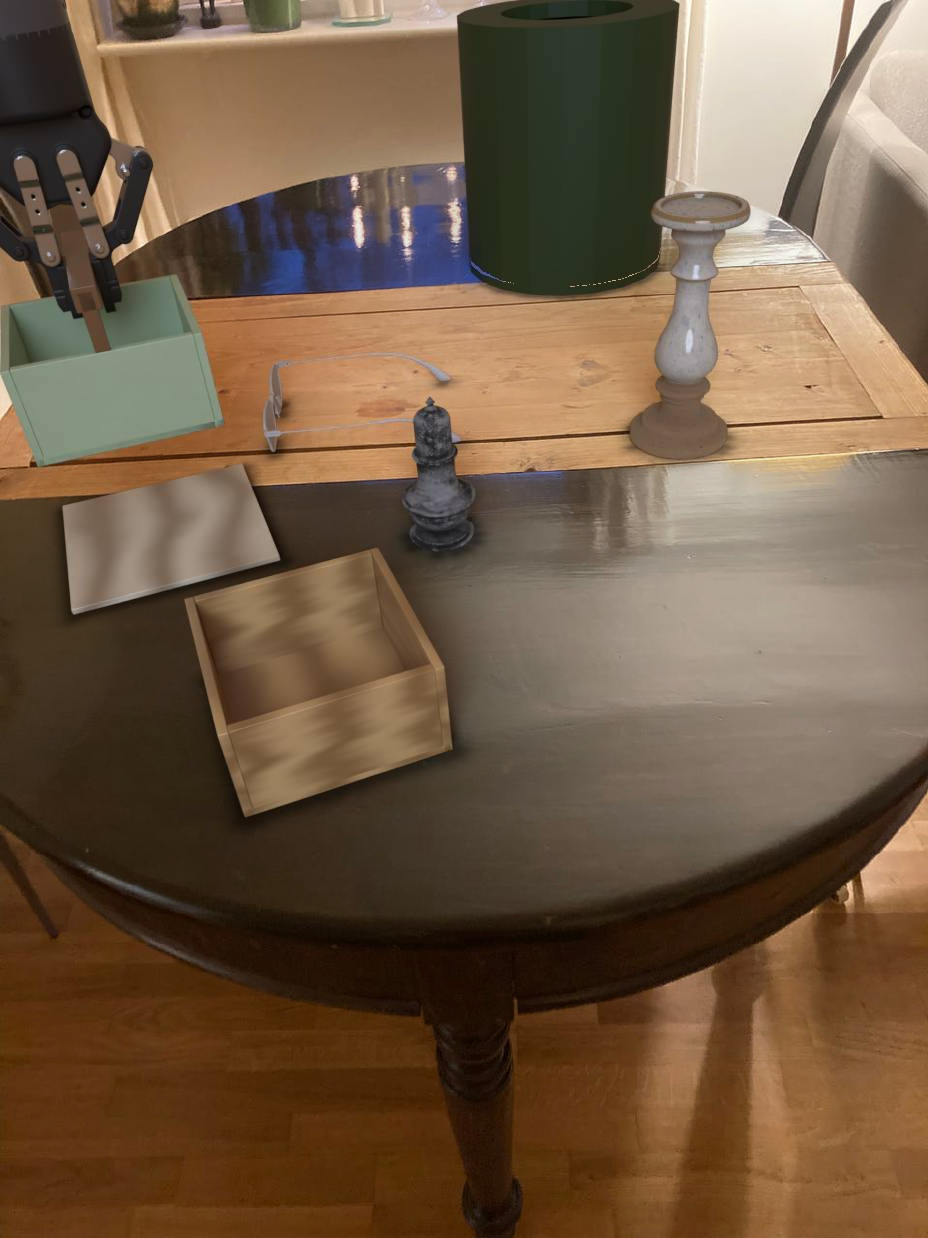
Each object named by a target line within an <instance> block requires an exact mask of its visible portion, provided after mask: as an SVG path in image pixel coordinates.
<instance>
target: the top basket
mask: <svg viewBox="0 0 928 1238" xmlns="http://www.w3.org/2000/svg"><path fill="white" fill-rule="evenodd" d="M60 235H61V243H62V250H63V256H65V263H66V270H67V276H68V283H69V290H70V293H71V296H72V299H73V302H74V305H75V308H76V311H77V313H78V314H80V313H82V314H83V317H84V318H78V319H73V316H72V314H71V311H68V312H63V311H62V310H61V309H60V308H59V306H58V304H57V301H56V298H55V295H51V296H46V297H42V298H41V297H40V298H36V299H30V300H24V301H19V302H14V303H9V304H3V305H1V306H0V313H1V314H0V377H1V381H2V382H3V384H4V387H5V389H6V392H7V394H8V397H9V400H10V401H11V404H12V407H13V409H14V412H15V414H16V417H17V419H18V421H19V425H20V427H21V428H22V431H23V434H24V436H25V439H26V441H27V444H28V446H29V448H30V450H31V453H32V457H33V459H34V461H35V463H36V466H37V467H38V468H42V467H46V466H51V465H56V464H59V463H64V462H68V461H73V460H77V459H82V458H86V457H91V456H96V455H100V454H104V453H108V452H113V451H118V450H122V449H127V448H130V447H136V446H140V445H141V446H142V445H144V444H150V443H154V442H158V441H162V440H168V439H172V438H177V437H180V436H184V435H190V434H195V433H198V432H203V431H208V430H211V429H216V428H220V427H225V426H226V424H225V419H224V416H223V411H222V407H221V404H220V400H219V395H218V391H217V387H216V383H215V379H214V375H213V371H212V367H211V363H210V358H209V355H208V352H207V347H206V344H205V339H204V335H203V332H202V330H201V328H200V327H201V326H200V324H199V323H198V320H197V318H196V316H195V313H194V311H193V309H192V307H191V304H190V302H189V299H188V297H187V294H186V292H185V290H184V287H183V285H182V284H181V283H182V282H181V281H180V279H179V276H178V274H175V273H174V274H171V275H165V276H164V275H163V276H157V277H152V278H147V279H141V280H136V281H130V282H123V283H119V285H120V289H121V292H122V299H121V302H117V303H114V304H115V307H116V312H111V313H106V310H105V307H104V304H103V301H102V297H101V294H100V291H99V288H98V284H97V280H96V277H95V274H94V271H93V267H92V264H91V261H90V256H89V252H90V249H89V245H88V242H87V240H86V237H85V234H84V231H83V229H77V230H71V231H65V232H61V233H60Z"/></svg>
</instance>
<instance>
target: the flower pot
mask: <svg viewBox="0 0 928 1238" xmlns="http://www.w3.org/2000/svg"><path fill="white" fill-rule="evenodd" d="M680 6H681V3H680V2H678V1H676V0H508V1H501V2H495V3H491V4H485V5H480V6H476V7H474V8H470V9H465V10H464V11H462V12H461V13H458V14H457V15H456V27H457V29H456V31H457V45H458V46H457V47H458V69H459V84H460V86H459V87H460V102H461V103H460V105H461V124H462V140H463V162H464V176H465V177H464V178H465V179H464V180H465V196H466V198H465V200H466V216H467V218H466V219H467V235H468V253H469V252H470V256H469V255H468V256H469V259H470V258H471V261H472V262H473V263H474V264H475V265H476V266H478V267H479V268H480V269H481V270H482V271H483V272H486V273H487V274H490V275H491V276H493V277H495V278H498V279H499V280H502V281H506V282H502V281H499V280H497V279H494V278H491V277H489V276H486V275H483V274H481V273H480V272H479V271H478V270H477V269H475V268H474V267H473V266H472V265H471V262H470V261H469V266H470V272H471V273H472V275H474V276H475V277H476V278H477V279H479V280H480V281H481V282H482V283H485V284H488V285H490V286H493V287H495V288H498V289H501V290H504V291H510V292H516V293H521V294H526V295H538V296H539V295H542V296H574V295H585V294H587V295H588V294H596V293H600V292H605V291H606V292H607V291H610V290H614V289H615V290H616V289H620V288H624V287H626V286H629V285H631V284H633V283H636V282H639V281H641V280H644V279H646V278H647V277H648V276H649V275H651V274H652V273H653V272H654V271H656V270H657V269H658V267H659V263H660V261H661V252H662V251H660V248H661V249H662V240H663V239H662V237H663V226H660V225H658V224H657V223H655V222H654V221H653V220H652V218H651V210H652V207H653V205H654V203H655V202H656V201H657V200H658V199H660V198H662V197H665V196H666V185H667V174H668V173H667V172H668V160H669V158H668V157H669V147H670V136H671V135H670V134H671V133H670V132H671V123H672V122H671V121H672V109H673V95H674V94H673V93H674V83H675V69H676V57H677V43H678V30H679V18H680V17H679V16H680ZM659 251H660V254H659ZM658 255H659V258H658ZM657 258H658V260H657V261H656V262H655V263H654V264H652V263H653V262H654V261H655V260H656V259H657ZM651 264H652V265H651ZM649 265H651V266H650V267H649V268H647V267H648V266H649ZM646 268H647V269H646ZM644 269H646V270H645V271H642V270H644ZM640 271H642V272H640ZM637 272H640V273H637ZM635 273H637V274H635ZM632 274H634V275H632ZM629 275H632V276H629ZM628 276H629V277H628ZM625 277H627V278H625ZM622 278H624V279H622ZM618 279H621V280H618ZM612 280H616V281H612ZM608 281H611V282H608ZM508 282H509V283H508ZM510 282H511V283H510ZM604 282H606V283H604ZM513 283H514V284H513ZM598 283H601V284H598ZM589 284H590V285H589ZM593 284H596V285H593ZM577 285H579V286H577ZM582 285H587V286H582ZM570 286H575V287H570Z"/></svg>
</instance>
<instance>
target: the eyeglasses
mask: <svg viewBox="0 0 928 1238" xmlns="http://www.w3.org/2000/svg"><path fill="white" fill-rule="evenodd" d="M367 356H371V357H373V356H393V357H394V356H395V357H400V358H401V357H402V358H405V359H409V360H412V361H413V362H416V363H418V364H419V365H420V366H423V367H425V368H426V369H428V370H429V371H430V373H431V374H432V375H433V376H434V377H435V378H436V379H437V380H438V381H440V382H449V381H451V380H452V377H451V375H449V374H448V373H447V372H445V371H443V370H442V369H441V368H439V367H436V366H435V365H434V364H431V363H429V362H427V361H425V360H422V359H419V358H417V357H413V356H411V355H406V354H403V353H396V352H371V353H365V354H355V355H354V354H353V355H343V356H333V357H325V358H316V359H308V360H299V361H292V362H291V361H290V360H282V361H281V360H280V361H275V363H273V364H272V365H271V367H270V369H269V370H270V371H269V377H268V379H269V380H268V381H269V382H268V383H269V392H270V394H269V395H268V396H267V397H268V400H266V401H265V403H264V405H263V411H262V427H263V431H264V437H265V439H266V441H267V444H268V447H269V449H270V452H271V453H275V452H276V450H277V443H278V437H281V435H282V434H291V433H301V432H312V431H325V430H331V429H332V430H333V429H342V428H351V427H360V426H368V425H369V426H370V425H379V424H385V423H386V424H387V423H397V422H398V423H399V422H400V423H412V424H413V419H412V418H411V419H410V418H392V419H383V420H377V421H373V422H367V423H366V422H365V423H360V424H359V423H358V424H350V425H343V426H333V427H323V428H321V427H320V428H312V429H300V430H298V429H297V430H289V431H288V430H287V431H281V430H280V429H277V422H276V416H277V418H278V419H279V420H281V416H280V414H281V413H282V408H283V392H282V391H283V390H282V385H281V384H282V383H281V379H280V378H281V377H280V372H279V369H280V368H283V367H290V366H291V365H294V364H299V363H301V364H302V363H308V362H309V363H310V362H316V361H324V360H335V359H343V358H353V357H354V358H355V357H367ZM451 433H452V444H455V443H459V442H461V441H462V439H463V438H462V436H461V435H459V434H458V433H456V432H454V431H452V430H451Z"/></svg>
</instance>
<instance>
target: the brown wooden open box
mask: <svg viewBox="0 0 928 1238" xmlns="http://www.w3.org/2000/svg"><path fill="white" fill-rule="evenodd" d="M184 605H185V609H186V613H187V617H188V621H189V625H190V630H191V633H192V639H193V642H194V645H195V650H196V654H197V659H198V663H199V667H200V670H201V674H202V678H203V683H204V686H205V690H206V695H207V699H208V703H209V707H210V711H211V715H212V719H213V723H214V727H215V732H216V735H217V739H218V742H219V745H220V748H221V750H222V751H221V752H222V755H223V757H224V760H225V762H226V765H227V768H228V771H229V775H230V777H231V781H232V783H233V787H234V789H235V792H236V796H237V798H238V802H239V805H240V807H241V810H242V813H243V817H244V818H248V817H251V816H254V815H258V814H260V813H263V812H267V811H269V810H273V809H277V808H279V807H283V806H285V805H288V804H291V803H294V802H297V801H300V800H304V799H307V798H309V797H312V796H315V795H319V794H321V793H324V792H327V791H331V790H333V789H336V788H339V787H342V786H346V785H348V784H352V783H355V782H358V781H362V780H364V779H367V778H369V777H373V776H376V775H379V774H383V773H385V772H388V771H391V770H394V769H398V768H400V767H403V766H406V765H409V764H412V763H416V762H418V761H421V760H422V761H423V760H424V759H428V758H431V757H434V756H437V755H440V754H442V753H443V754H444V753H446V752H448V751H452V750H454V749H453V740H452V727H451V719H450V718H451V717H450V708H449V699H448V690H447V689H448V688H447V679H446V668H445V664H444V663H443V660H441V658H440V656H439V654H438V652H437V650H436V649H435V647H434V645H433V642H432V641H431V640H430V638H429V636H428V634H427V633H426V630H425V629H424V627H423V625H422V624H421V622H420V620H419V618H418V617H417V615H416V613H415V611H414V610H413V608H412V606H411V604H410V602H409V600H408V599H407V597H406V595H405V593H404V592H403V589H402V587H401V586H400V584H399V582H398V580H397V579H396V576H395V575H394V574H393V571H392V570H391V568H390V566H389V564H388V562H387V561H386V559H385V557H384V555H383V554H382V552H381V550H380V549H379V547H374V548H370V549H367V550H363V551H362V550H361V551H359V552H356V553H355V552H354V553H351V554H349V555H344V556H341V557H337V558H333V559H329V560H325V561H322V562H318V563H314V564H310V565H306V566H302V567H299V568H296V569H295V568H294V569H291V570H288V571H284V572H280V573H277V574H272V575H270V576H265V577H262V578H259V579H253V580H250V581H247V582H242V583H240V584H236V585H232V586H228V587H224V588H221V589H217V590H212V591H210V592H205V593H202V594H198V595H194V596H191V597H186V598H184Z"/></svg>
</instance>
